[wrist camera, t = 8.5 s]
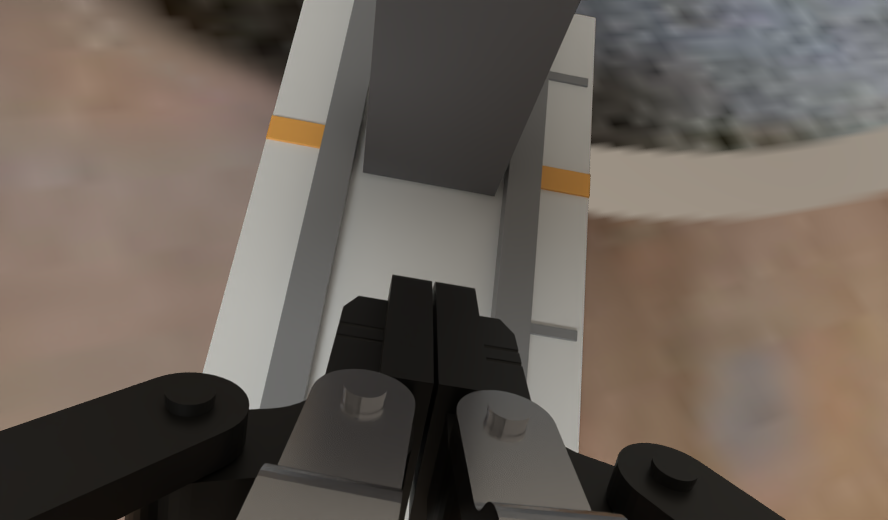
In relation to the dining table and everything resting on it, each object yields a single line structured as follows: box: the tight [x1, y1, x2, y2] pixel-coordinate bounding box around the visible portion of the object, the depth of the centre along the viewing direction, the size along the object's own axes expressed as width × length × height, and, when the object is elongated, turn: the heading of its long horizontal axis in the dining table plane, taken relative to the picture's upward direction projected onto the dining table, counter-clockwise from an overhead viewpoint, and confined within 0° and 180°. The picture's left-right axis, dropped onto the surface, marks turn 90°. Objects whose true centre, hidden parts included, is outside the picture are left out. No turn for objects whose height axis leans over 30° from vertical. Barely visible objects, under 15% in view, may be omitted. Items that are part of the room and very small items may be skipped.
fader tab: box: [363, 0, 580, 196], centre depth 16 cm, size 3×4×11 cm
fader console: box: [203, 0, 596, 520], centre depth 20 cm, size 22×10×2 cm, turn 173°
